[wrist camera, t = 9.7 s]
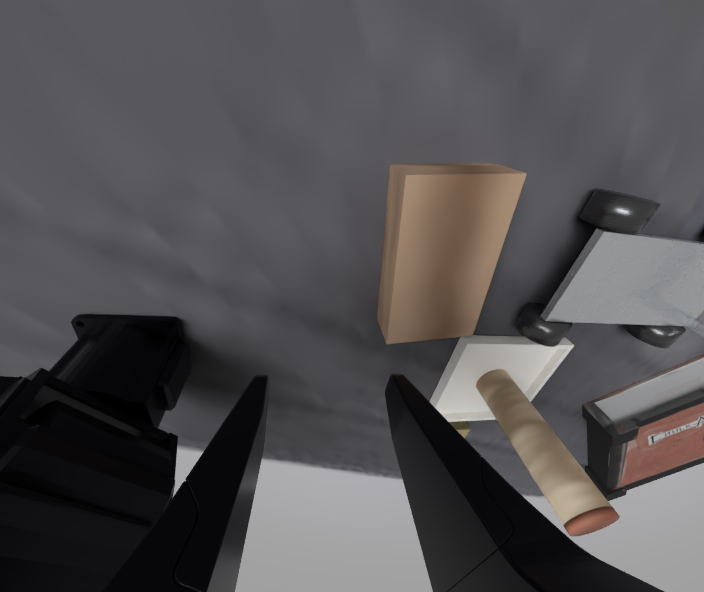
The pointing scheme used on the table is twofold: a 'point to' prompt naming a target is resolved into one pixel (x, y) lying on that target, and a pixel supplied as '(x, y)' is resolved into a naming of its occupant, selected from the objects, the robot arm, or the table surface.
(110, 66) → the table surface
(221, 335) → the table surface
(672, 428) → the book
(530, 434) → the pin
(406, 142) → the table surface
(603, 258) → the trolley
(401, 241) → the bar
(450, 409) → the tray
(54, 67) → the table surface
